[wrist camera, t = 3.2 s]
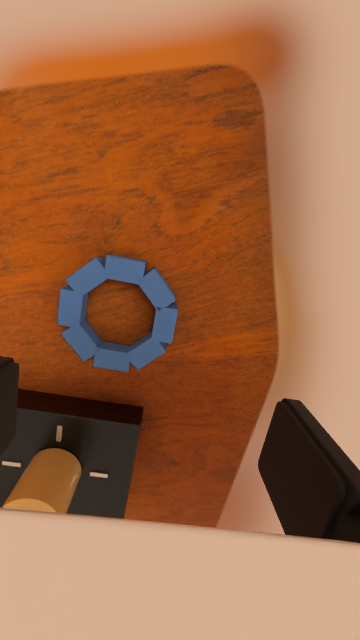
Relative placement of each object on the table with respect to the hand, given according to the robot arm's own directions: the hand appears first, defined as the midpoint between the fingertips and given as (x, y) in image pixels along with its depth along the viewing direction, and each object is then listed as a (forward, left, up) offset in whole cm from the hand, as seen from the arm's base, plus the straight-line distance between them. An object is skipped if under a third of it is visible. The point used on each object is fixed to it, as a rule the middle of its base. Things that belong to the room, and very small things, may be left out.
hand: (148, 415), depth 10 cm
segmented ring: (+3, 0, -13) cm, 13 cm away
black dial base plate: (+6, +13, -13) cm, 19 cm away
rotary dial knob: (+6, +13, -10) cm, 17 cm away
